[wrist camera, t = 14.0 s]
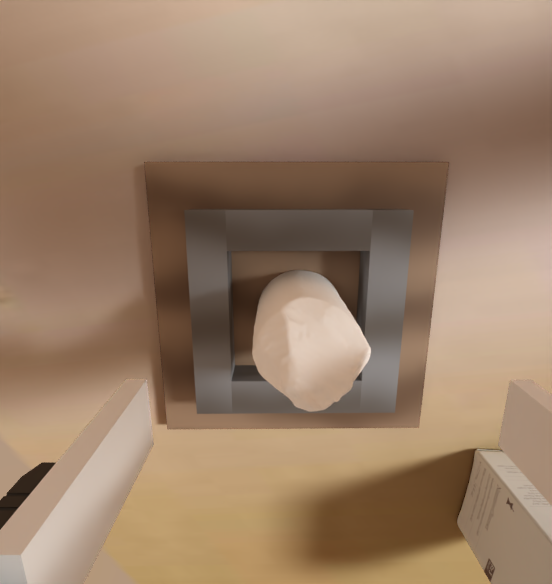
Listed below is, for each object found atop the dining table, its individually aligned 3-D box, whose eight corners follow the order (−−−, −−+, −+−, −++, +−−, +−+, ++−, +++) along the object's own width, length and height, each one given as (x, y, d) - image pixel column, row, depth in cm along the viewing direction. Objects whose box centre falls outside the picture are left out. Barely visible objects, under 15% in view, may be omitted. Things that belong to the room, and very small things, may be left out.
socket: (149, 163, 24) (129, 157, 21) (442, 163, 25) (469, 157, 21) (170, 421, 30) (157, 450, 26) (414, 420, 30) (432, 448, 26)
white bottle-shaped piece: (395, 324, 14) (393, 450, 15) (338, 266, 25) (341, 340, 27) (238, 336, 14) (252, 460, 15) (253, 273, 25) (260, 346, 27)
